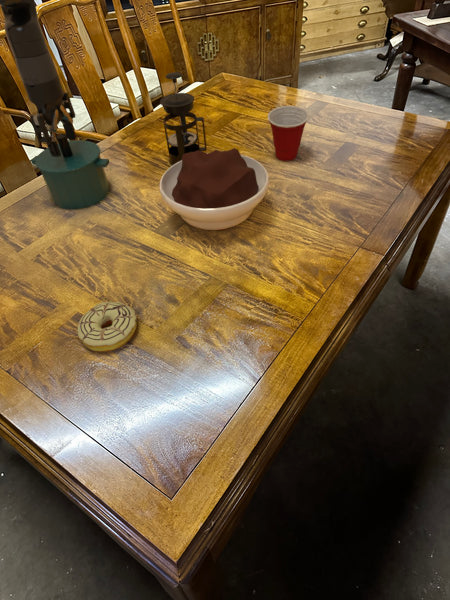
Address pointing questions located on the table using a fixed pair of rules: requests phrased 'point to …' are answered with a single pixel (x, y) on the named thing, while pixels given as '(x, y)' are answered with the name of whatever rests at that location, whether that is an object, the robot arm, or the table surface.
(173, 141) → the french press
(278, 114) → the plastic cup
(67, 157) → the lid
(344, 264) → the table surface
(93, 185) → the pot
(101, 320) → the decorated donut
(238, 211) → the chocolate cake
